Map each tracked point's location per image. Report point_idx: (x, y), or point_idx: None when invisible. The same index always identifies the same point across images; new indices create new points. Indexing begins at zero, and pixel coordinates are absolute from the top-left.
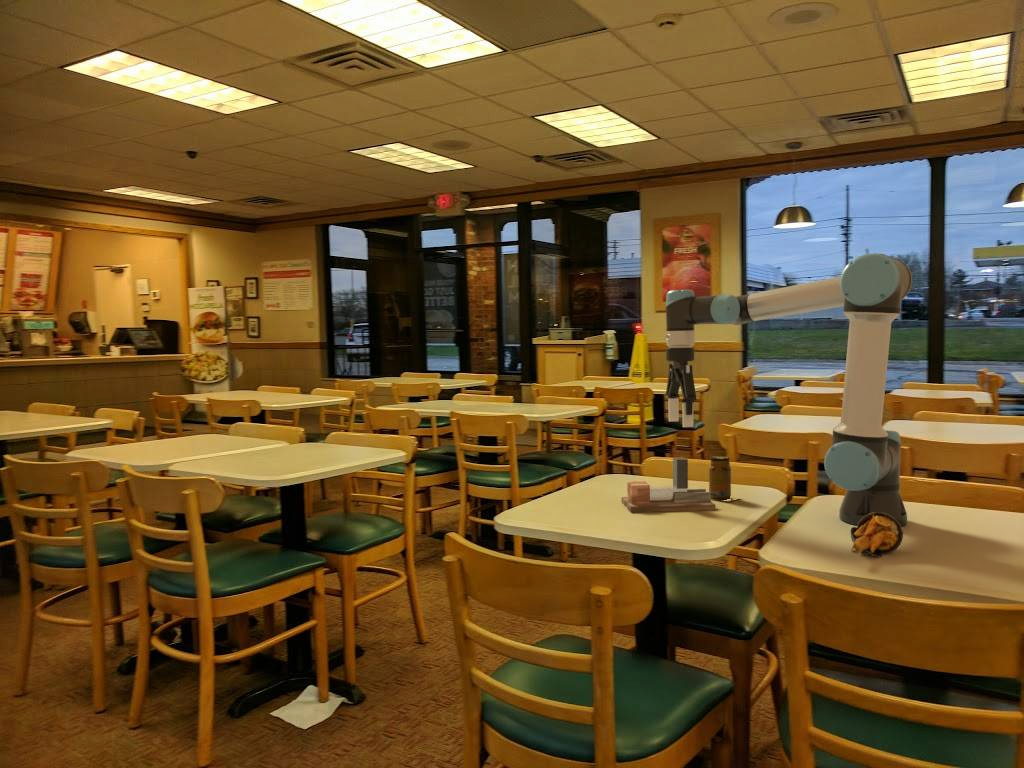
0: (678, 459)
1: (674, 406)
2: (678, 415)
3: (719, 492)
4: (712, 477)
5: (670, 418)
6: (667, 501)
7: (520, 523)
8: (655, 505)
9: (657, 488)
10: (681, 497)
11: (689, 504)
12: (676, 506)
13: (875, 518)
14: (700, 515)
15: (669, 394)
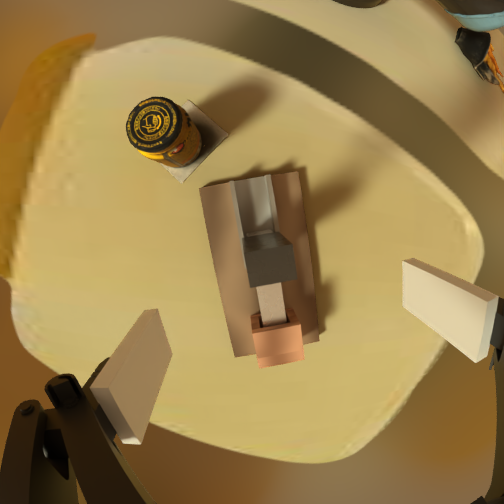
0: (292, 273)
1: (139, 377)
2: (148, 323)
3: (199, 145)
4: (183, 155)
5: (167, 357)
6: None
7: (358, 443)
8: (309, 297)
9: (280, 302)
10: None
11: (300, 227)
12: (309, 255)
13: (493, 49)
14: (340, 210)
15: (128, 465)
